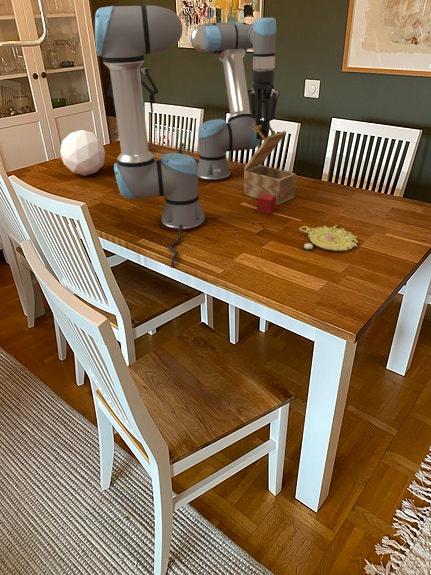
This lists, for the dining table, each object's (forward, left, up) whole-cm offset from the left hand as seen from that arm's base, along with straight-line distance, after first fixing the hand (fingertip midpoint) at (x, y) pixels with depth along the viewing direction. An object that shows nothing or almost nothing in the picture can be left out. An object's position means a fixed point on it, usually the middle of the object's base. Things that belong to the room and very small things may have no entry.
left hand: (135, 113), depth 181 cm
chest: (-31, -49, -28) cm, 65 cm away
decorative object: (-73, -58, -28) cm, 97 cm away
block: (-45, -44, -28) cm, 69 cm away
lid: (-29, -47, -11) cm, 57 cm away
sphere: (+15, +26, -28) cm, 41 cm away
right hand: (-28, -46, -7) cm, 54 cm away
